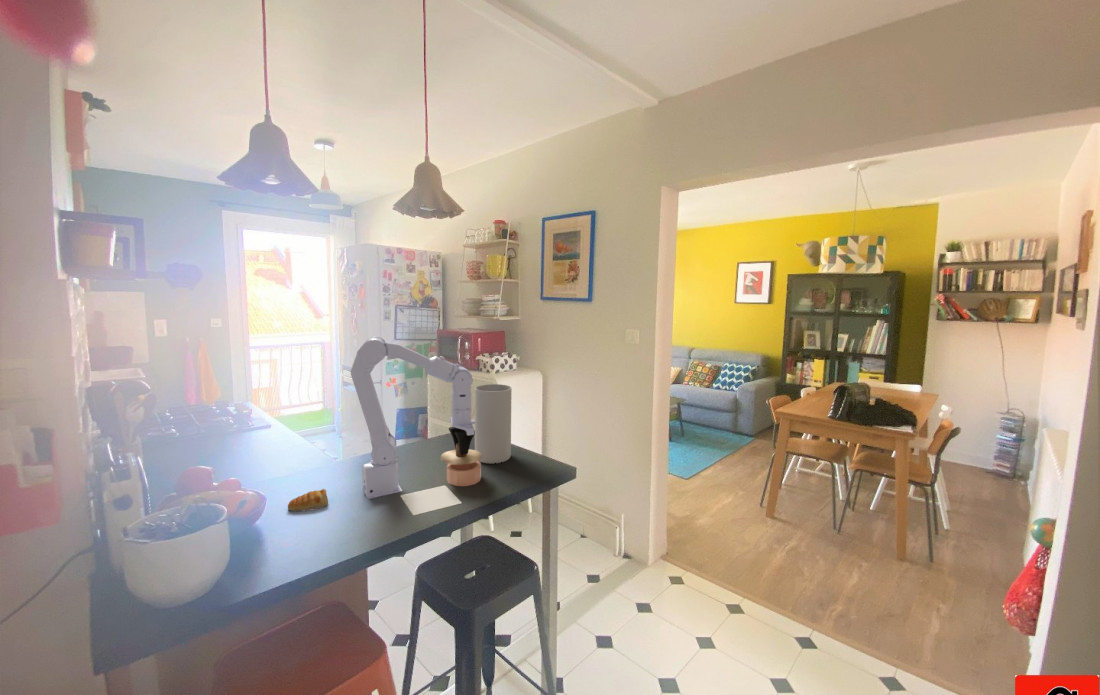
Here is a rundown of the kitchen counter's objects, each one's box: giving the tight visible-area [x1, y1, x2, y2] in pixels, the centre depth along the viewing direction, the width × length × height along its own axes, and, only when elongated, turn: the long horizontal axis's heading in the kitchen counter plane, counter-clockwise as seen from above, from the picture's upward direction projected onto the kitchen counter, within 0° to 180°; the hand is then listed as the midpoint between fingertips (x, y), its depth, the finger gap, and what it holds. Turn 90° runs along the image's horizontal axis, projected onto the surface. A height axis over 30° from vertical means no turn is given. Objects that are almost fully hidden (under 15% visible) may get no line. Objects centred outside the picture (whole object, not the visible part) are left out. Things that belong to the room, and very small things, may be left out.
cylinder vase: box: [474, 383, 512, 465], centre depth 151 cm, size 12×12×25 cm
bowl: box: [446, 461, 482, 487], centre depth 133 cm, size 10×10×5 cm
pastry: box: [287, 488, 329, 512], centre depth 115 cm, size 9×7×4 cm
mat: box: [399, 484, 463, 516], centre depth 119 cm, size 13×13×1 cm
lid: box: [440, 443, 481, 465], centre depth 131 cm, size 12×12×4 cm
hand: (461, 452), depth 131 cm, fingers closed on lid, 3 cm apart
